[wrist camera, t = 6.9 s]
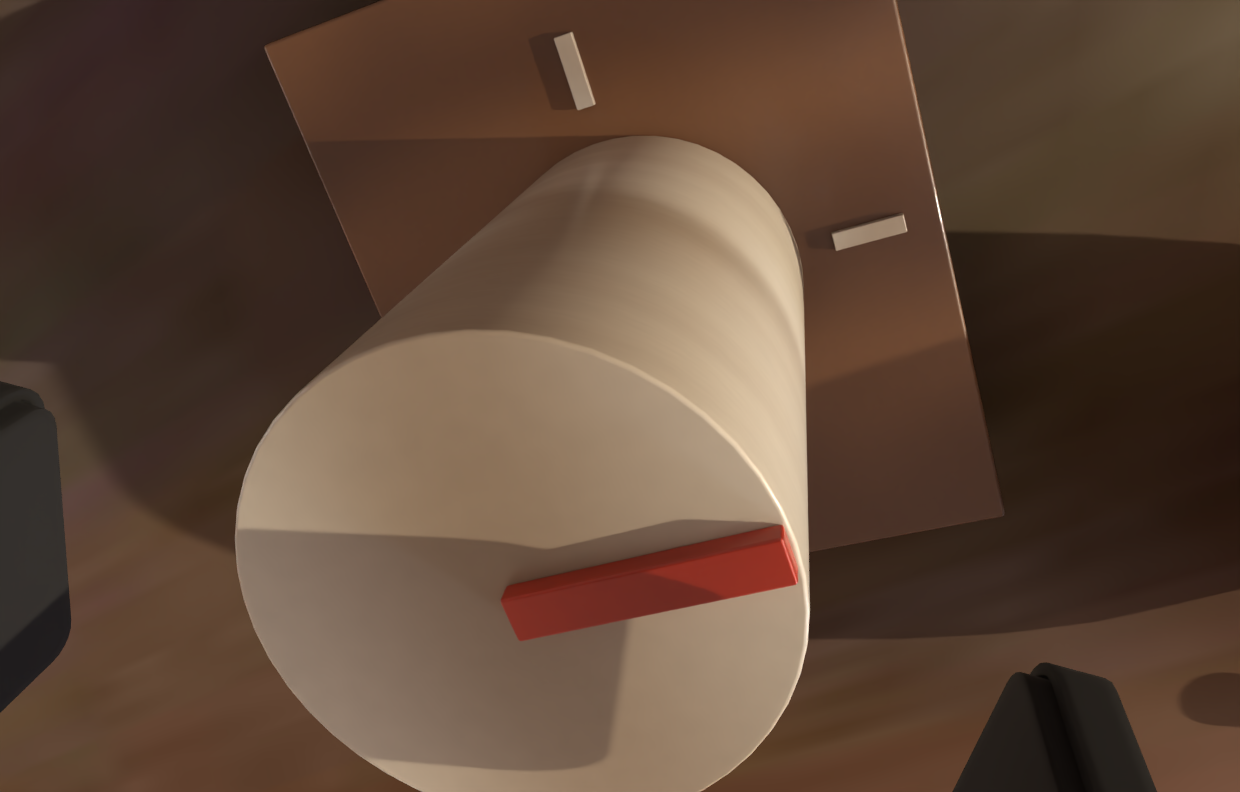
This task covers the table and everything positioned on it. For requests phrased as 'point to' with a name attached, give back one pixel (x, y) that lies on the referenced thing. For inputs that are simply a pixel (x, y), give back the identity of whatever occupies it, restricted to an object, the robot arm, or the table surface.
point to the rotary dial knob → (555, 494)
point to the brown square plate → (715, 119)
